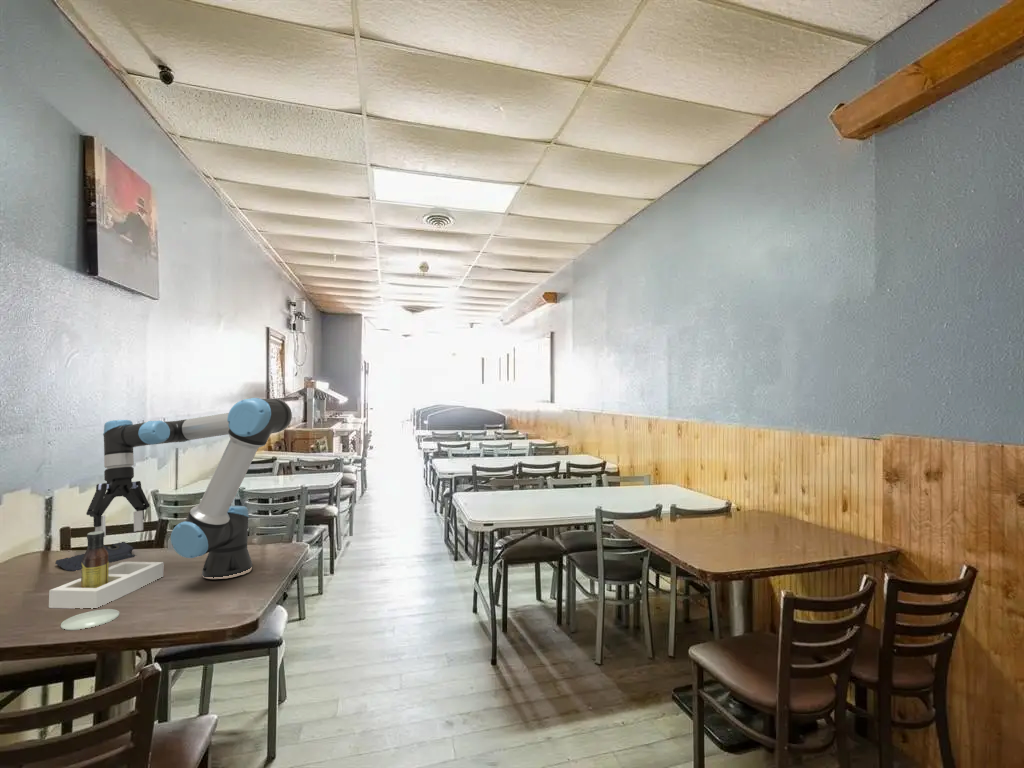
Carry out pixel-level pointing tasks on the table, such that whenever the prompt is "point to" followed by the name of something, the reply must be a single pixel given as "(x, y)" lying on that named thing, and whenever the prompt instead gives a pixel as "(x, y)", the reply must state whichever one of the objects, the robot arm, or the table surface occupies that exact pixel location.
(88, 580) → the sauce bottle
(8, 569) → the table surface
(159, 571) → the condiment caddy
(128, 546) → the dark slate chunk
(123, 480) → the robot arm
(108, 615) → the coaster
